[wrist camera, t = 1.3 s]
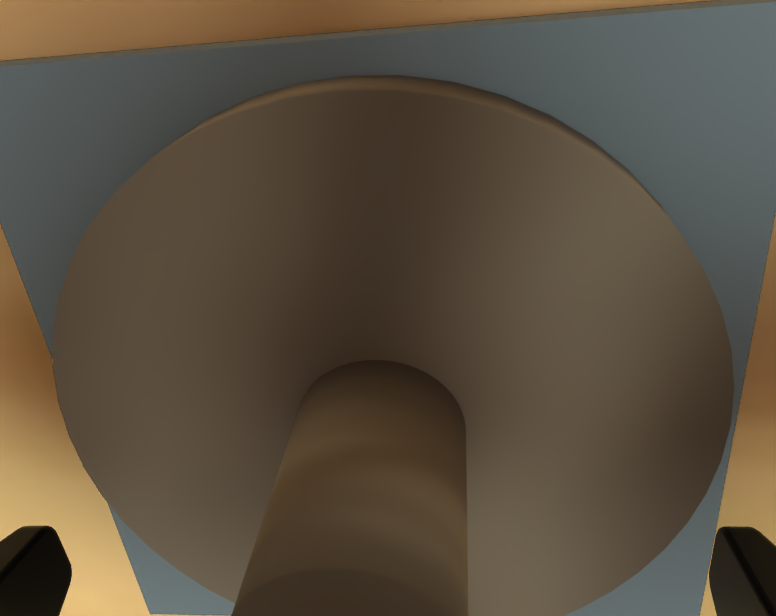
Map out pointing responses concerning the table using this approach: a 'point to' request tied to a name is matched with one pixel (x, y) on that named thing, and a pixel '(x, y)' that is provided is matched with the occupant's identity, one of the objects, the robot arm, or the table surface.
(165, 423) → the lid
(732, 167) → the mat
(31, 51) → the table surface
